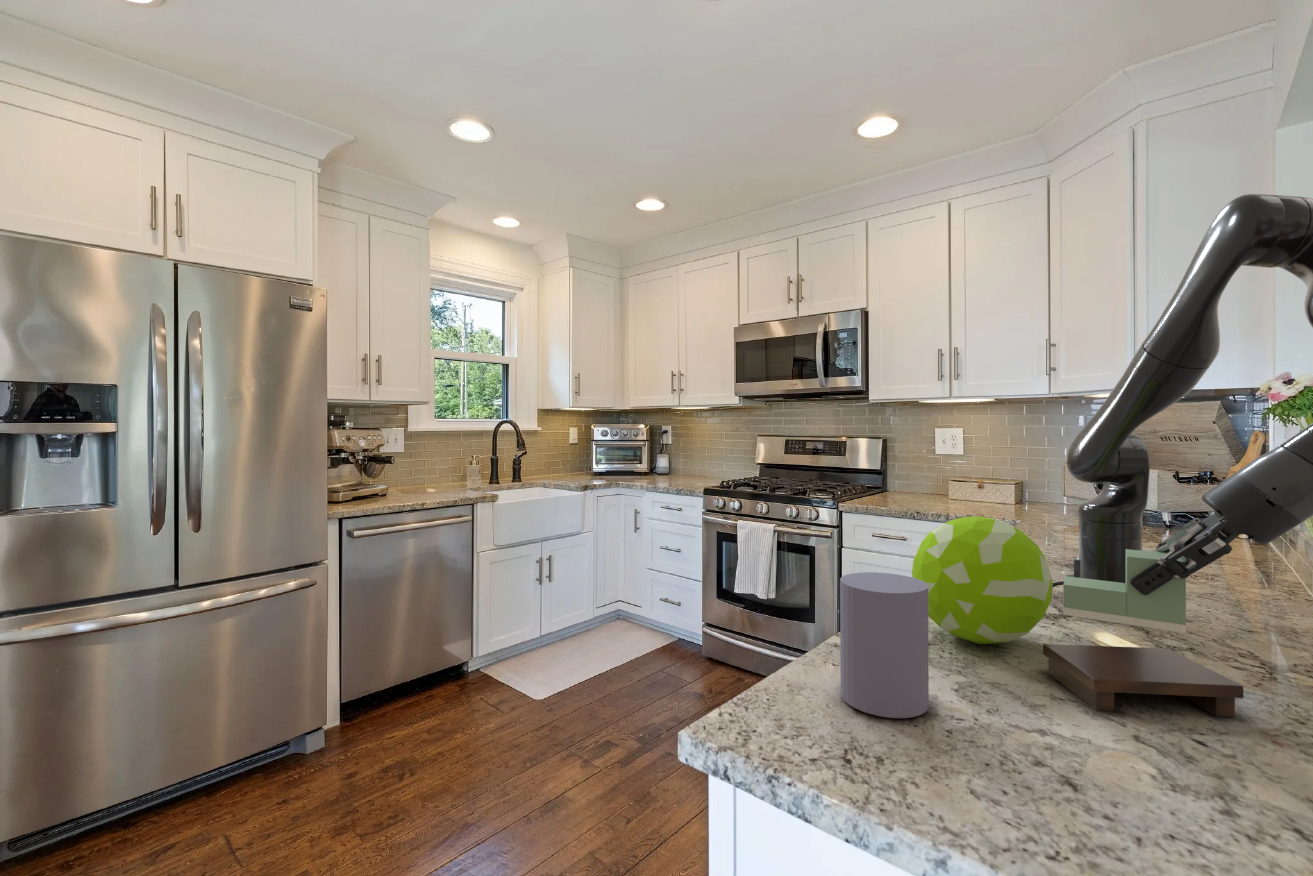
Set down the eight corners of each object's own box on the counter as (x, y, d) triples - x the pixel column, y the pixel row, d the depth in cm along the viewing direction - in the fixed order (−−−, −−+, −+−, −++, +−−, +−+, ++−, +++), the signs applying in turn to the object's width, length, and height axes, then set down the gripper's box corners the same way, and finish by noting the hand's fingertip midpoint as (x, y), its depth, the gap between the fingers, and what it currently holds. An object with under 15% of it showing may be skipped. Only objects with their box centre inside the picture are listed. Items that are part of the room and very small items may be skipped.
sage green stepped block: (1181, 621, 74) (1181, 554, 74) (1185, 633, 70) (1186, 562, 70) (1065, 604, 82) (1065, 543, 81) (1063, 614, 77) (1063, 550, 77)
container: (887, 728, 67) (887, 597, 67) (823, 693, 76) (822, 578, 76) (947, 708, 72) (947, 586, 72) (880, 677, 81) (879, 569, 81)
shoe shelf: (1094, 712, 71) (1094, 679, 71) (1042, 672, 83) (1042, 643, 82) (1243, 719, 69) (1243, 685, 69) (1168, 677, 80) (1168, 648, 80)
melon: (1074, 635, 97) (1074, 514, 97) (1025, 678, 80) (1025, 532, 80) (948, 609, 112) (948, 504, 112) (885, 640, 95) (885, 517, 95)
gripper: (1227, 467, 75) (1108, 550, 82) (1249, 475, 63) (1109, 571, 71) (1288, 512, 71) (1158, 594, 79) (1322, 529, 60) (1167, 623, 68)
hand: (1135, 583), depth 75 cm, fingers closed on sage green stepped block, 5 cm apart
